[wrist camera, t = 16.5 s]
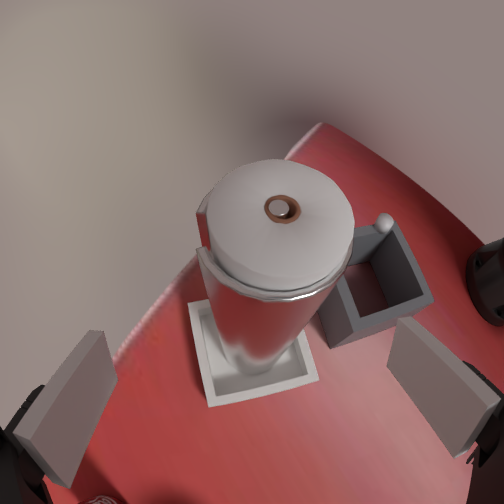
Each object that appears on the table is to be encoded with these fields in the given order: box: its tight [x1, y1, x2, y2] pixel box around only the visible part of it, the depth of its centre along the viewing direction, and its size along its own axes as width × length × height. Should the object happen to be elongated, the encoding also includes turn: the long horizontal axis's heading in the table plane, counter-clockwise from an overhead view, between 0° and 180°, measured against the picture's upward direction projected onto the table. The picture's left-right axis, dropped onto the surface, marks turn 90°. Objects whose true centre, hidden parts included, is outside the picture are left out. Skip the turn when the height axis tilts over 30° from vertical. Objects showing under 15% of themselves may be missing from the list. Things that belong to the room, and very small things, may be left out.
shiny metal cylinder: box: [196, 159, 355, 375], centre depth 21 cm, size 6×6×25 cm
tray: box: [188, 299, 319, 407], centre depth 31 cm, size 12×12×3 cm
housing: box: [317, 213, 434, 349], centre depth 32 cm, size 11×12×10 cm
